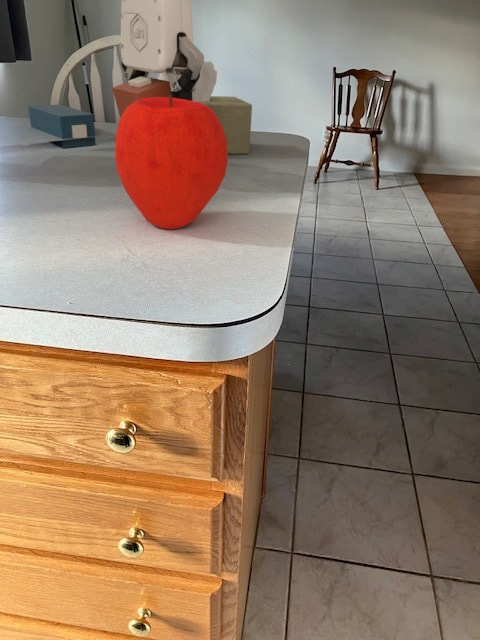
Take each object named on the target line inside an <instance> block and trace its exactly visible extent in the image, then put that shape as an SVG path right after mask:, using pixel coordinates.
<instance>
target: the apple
mask: <svg viewBox="0 0 480 640" xmlns="http://www.w3.org/2000/svg"><path fill="white" fill-rule="evenodd" d="M114 150H115V151H114V160H115V166H116V171H117V174H118V176H119V179H120V182H121V183H122V187H123V189H124V191H125V193H126V194H127V196H128V197H129V198H130V200H131V201H132V203H133V204H134V206H135V207H136V208H137V210H138V211H139V213H140V214H141V215H142V217H143V218H144V219H145V220H146V222H147V223H150V224H151V225H153V226H154V227H157V228H160V229H162V230H163V229H165V230H176V229H181V228H183V227H185V226H187V225H189V224H190V223H192V222H194V221H195V220H196V219H197V218H198V217H199V215H200V214H201V213H202V212H203V210H204V209H205V207H206V206H207V205H208V204H209V202H210V201H211V199H213V197H214V196H215V195H216V193H217V192H218V191H219V189H220V187H221V185H222V183H223V180H224V179H225V176H226V172H227V167H228V163H229V157H228V156H229V154H228V153H227V140H226V137H225V133H224V130H223V127H222V125H221V123H220V121H219V120H218V118H217V117H216V115H215V113H214V112H213V110H212V109H211V108H210V107H208V106H206V105H204V104H203V103H199V102H194V101H189V100H184V99H178V98H172V94H169V97H150V98H143V99H139V100H137V101H136V102H134V103H132V104H131V105H129V106H128V107H127V108H126V110H125V111H124V113H123V115H122V116H121V118H120V117H119V120H118V125H117V128H116V133H115V149H114Z"/></svg>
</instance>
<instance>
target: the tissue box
mask: <svg viewBox="0 0 480 640" xmlns="http://www.w3.org/2000/svg"><path fill="white" fill-rule="evenodd" d="M162 74H163V76H164V80H165V81H169V79H168V76H167V74H166V72H165V71H164V72H163V73H162ZM177 76H178V78H180V77H181V75H177ZM217 78H218V71H217V70H216V69H215V65H214V63H213V62H212V61H211V60H210V61H205V60H204V61H203V65H202V68H201V71H200V78H199V79H198V81H197V82H196V84H195V85H196V88H195V91H192V101H194V102H199V103H203V104H204V105H206V106H208V107H210V108H211V109H212V110H213V112H214V113H215V115H216V117H217V118H218V120H219V121H220V123H221V125H222V127H223V130H224V133H225V137H226V140H227V153H228V155H250V147H251V132H252V131H251V130H252V117H253V116H252V114H253V105H252V104H251V103H249V102H247V101H245V100H242V99H240V98H238V97H237V96H222V95H221V96H220V95H219V96H217V95H215V96H214V95H212V94H213V92H214V88H215V86H216V84H217ZM169 82H170V81H169ZM170 87H171V91H174V90H173V88H172V86H171V83H170Z"/></svg>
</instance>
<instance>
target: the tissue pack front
mask: <svg viewBox="0 0 480 640" xmlns="http://www.w3.org/2000/svg"><path fill="white" fill-rule="evenodd" d="M111 89H112V92H113V96H114V100H115V103H116V108H117V111H118V114H119V119H120V118H121V116H122V115H123V113H124V111H125V110H126V108H127V107H128V106H129V105H131V104H132V103H134V102H136V101H137V100H139V99H143V98H150V97H169V94H170V91H171V87H170V82H169V81H166V80H165V79H158V78H155V77H150V76H149V77H148V76H147V77H137V78H135V79H132V80H129V81H128V82H126V81H125V82H124V83H120V84H118V85H115V86H113V87H112V88H111Z"/></svg>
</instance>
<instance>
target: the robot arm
mask: <svg viewBox="0 0 480 640" xmlns="http://www.w3.org/2000/svg"><path fill="white" fill-rule="evenodd" d="M192 12H193V11H192V3H191V0H121V6H120V43H118V46H117V49H118V52H119V56H120V59H121V63H120V64H121V68H122V70H123V72H124V80H125V83H126V82H128V81H129V80H132V79H135V78H137V77H148V76H149V74H150V73H154V74H164V73H163V72H164V71H165V72H166V74H167V76H168V79H169V81H170V83H171V86H172V88H173V90H174V91H170V94H172V98H178V99H184V100H189V101H192V91H195V88H196V85H195V84H196V82H197V81H198V79H199V78H200V71H201V68H202V65H203V61H205V56H204V54H203V53H202V52H201V50H200V49H199V48H198V46H196V45H195V44H194V29H193V14H192ZM177 75H181V77H180V78H178V76H177Z"/></svg>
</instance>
